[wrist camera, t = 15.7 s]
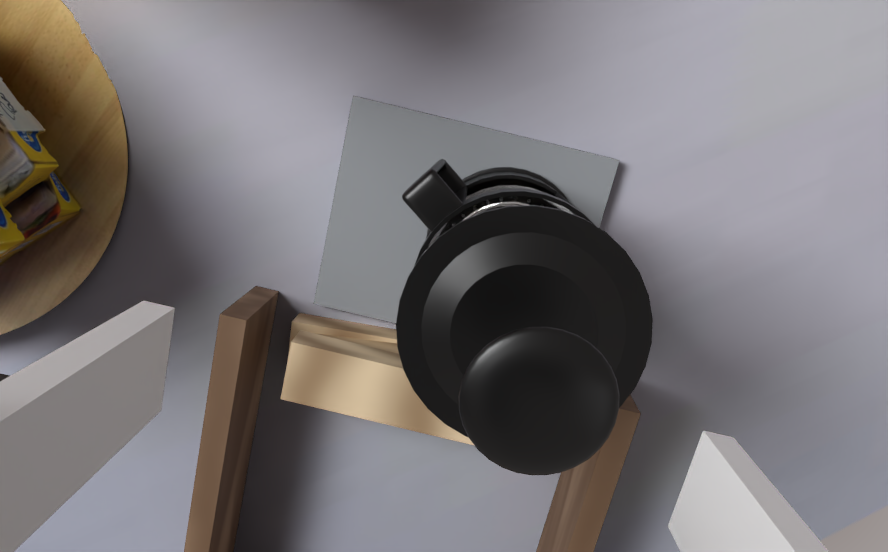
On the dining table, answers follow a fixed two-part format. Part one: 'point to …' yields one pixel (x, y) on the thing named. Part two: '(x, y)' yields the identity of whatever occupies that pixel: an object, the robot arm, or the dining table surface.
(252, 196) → the dining table surface
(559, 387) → the french press
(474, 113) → the dining table surface
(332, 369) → the offcut stack
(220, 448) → the wooden box
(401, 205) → the slate mat
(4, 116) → the stacked boxes on plate
